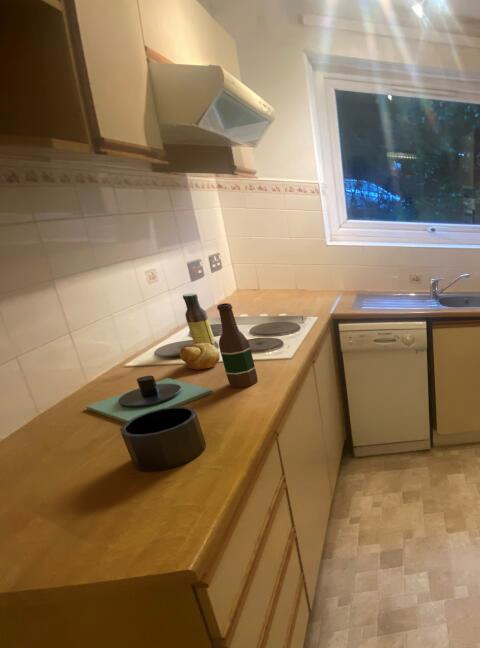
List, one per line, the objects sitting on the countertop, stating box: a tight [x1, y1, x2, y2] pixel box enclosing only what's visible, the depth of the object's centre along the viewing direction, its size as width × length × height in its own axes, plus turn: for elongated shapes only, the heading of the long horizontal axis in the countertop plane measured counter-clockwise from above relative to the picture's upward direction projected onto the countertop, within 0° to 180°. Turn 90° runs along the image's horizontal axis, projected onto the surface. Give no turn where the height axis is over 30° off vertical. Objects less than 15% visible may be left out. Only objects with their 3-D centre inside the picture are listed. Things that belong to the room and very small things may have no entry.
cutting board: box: [85, 377, 214, 424], centre depth 118 cm, size 20×20×1 cm
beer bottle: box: [216, 302, 259, 389], centre depth 124 cm, size 8×8×24 cm
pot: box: [119, 406, 207, 473], centre depth 93 cm, size 13×13×8 cm
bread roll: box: [178, 343, 221, 370], centre depth 141 cm, size 13×10×8 cm
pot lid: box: [118, 375, 181, 407], centre depth 116 cm, size 13×13×6 cm
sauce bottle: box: [182, 292, 217, 347], centre depth 152 cm, size 6×6×20 cm
